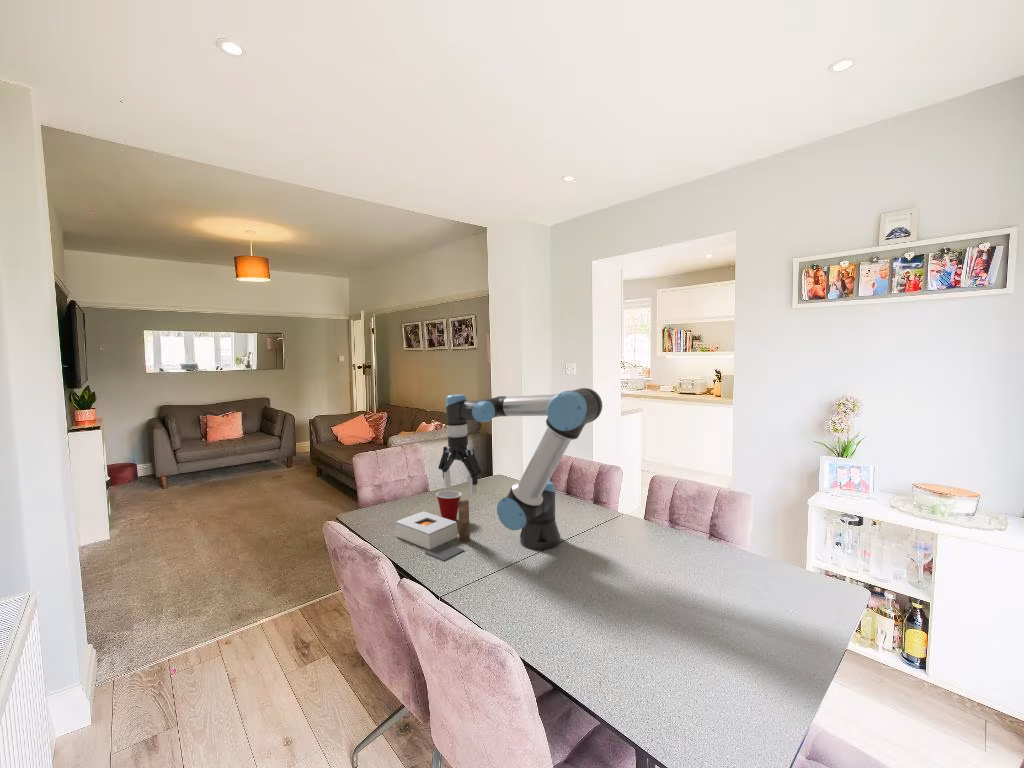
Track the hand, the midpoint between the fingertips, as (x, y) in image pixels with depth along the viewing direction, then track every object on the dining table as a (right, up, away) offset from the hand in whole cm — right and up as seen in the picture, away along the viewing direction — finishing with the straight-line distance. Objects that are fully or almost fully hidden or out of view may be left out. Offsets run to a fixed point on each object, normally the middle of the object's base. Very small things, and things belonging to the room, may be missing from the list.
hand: (460, 490), depth 179 cm
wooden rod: (+2, -19, 0) cm, 19 cm away
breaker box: (-14, -19, +4) cm, 24 cm away
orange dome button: (-14, -16, +4) cm, 22 cm away
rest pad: (-5, -20, -10) cm, 23 cm away
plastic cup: (-7, -18, +20) cm, 27 cm away
